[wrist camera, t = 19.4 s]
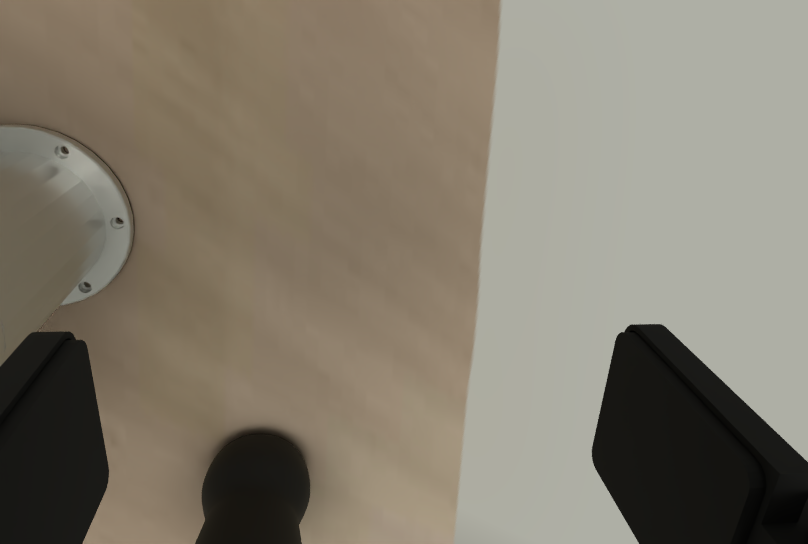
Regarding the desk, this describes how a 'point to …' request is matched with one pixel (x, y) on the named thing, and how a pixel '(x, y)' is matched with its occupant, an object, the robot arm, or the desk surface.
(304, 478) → the cola bottle
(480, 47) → the desk surface
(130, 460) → the desk surface
